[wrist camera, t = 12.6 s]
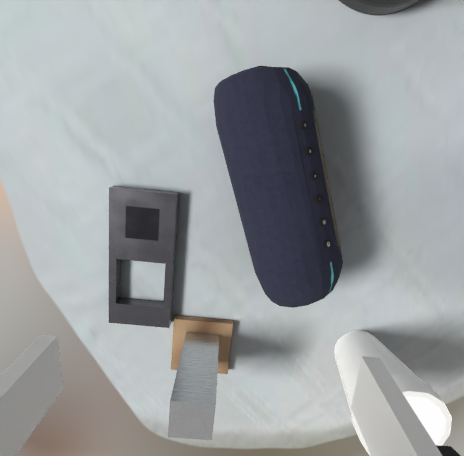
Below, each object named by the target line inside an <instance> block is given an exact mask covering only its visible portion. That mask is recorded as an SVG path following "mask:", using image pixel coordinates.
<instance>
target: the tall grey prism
mask: <svg viewBox="0 0 464 456" xmlns="http://www.w3.org/2000/svg"><path fill="white" fill-rule="evenodd" d="M218 350H219V334H210V333H199V332H187V331H186V336H185V340H184V344H183V348H182V353H181V357H180V361H179V366H178V370H177V374H176V379H175V383H174V387H173V391H172V396H171V400H170V414H169V429H168V437H176V438H190V439H203V440H212V432H213V423H214V414H215V405H216V386H217V368H218Z"/></svg>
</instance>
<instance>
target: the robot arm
mask: <svg viewBox="0 0 464 456" xmlns="http://www.w3.org/2000/svg"><path fill="white" fill-rule="evenodd" d="M340 1H341V2H342V3H343V4H345V5H346V6H348V7H350V8H352V9H354V10H356V11H359V12H362V13H366V14H374V15H382V14H390V13H394V12H398V11H401V10H403V9H405V8H408V7H410V6H411V5H413V4H415V3H416V2H418V1H419V0H340ZM62 389H63V380H62V371H61V361H60V352H59V343H58V336H56V335H39V336H38V337H37V338H36V339H35V340H34V341H33V342H32V343H31V344H30V345H29V346H28V347H27V348H26V349H25V350H24V351H23V352H22V353H21V354H20V355H19V356H18V357H17V358H16V359H15V360H14V361H13V362H12V363H11V364H10V365H9V366H8V367H7V368H6V369H5V370H4V371H3V372H2V373H1V374H0V456H16V454H17V453H18V452H19V450H20V449H21V447H22V446H23V444H24V443H25V442H26V440H27V439H28V437H29V436H30V434H31V433H32V432H33V430H34V428H35V427H36V426H37V425H38V423H39V422H40V420H41V419H42V417H43V416H44V415H45V413H46V412H47V410H48V409H49V407H50V406H51V405H52V403H53V402H54V400H55V399H56V398H57V396H58V395H59V393H60V392H61V390H62ZM351 409H352V411H353V414H354V416H355V418H356V421H357V423H358V426H359V428H360V430H361V433H362V435H363V438H364V440H365V442H366V445H367V447H368V450H369V452H370V455H371V456H460V455H459V454H458V453H457V452H456V451H455V450H454V449H453V448H452V447H450V446H437V445H435V443H434V442H433V440H432V439H431V437H430V435H429V434H428V432H427V431H426V429H425V428H424V426H423V425H422V423H421V421H420V420H419V418H418V417H417V415H416V414H415V412H414V410H413V409H412V407H411V406H410V404H409V403H408V401H407V400H406V398H405V396H404V395H403V393H402V392H401V390H400V389H399V387H398V385H397V384H396V382H395V381H394V379H393V378H392V376H391V374H390V373H389V371H388V370H387V368H386V367H385V365H384V364H383V362H382V360H381V359H380V357H365V356H362V358H361V363H360V367H359V372H358V377H357V382H356V386H355V391H354V396H353V401H352V405H351Z"/></svg>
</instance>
